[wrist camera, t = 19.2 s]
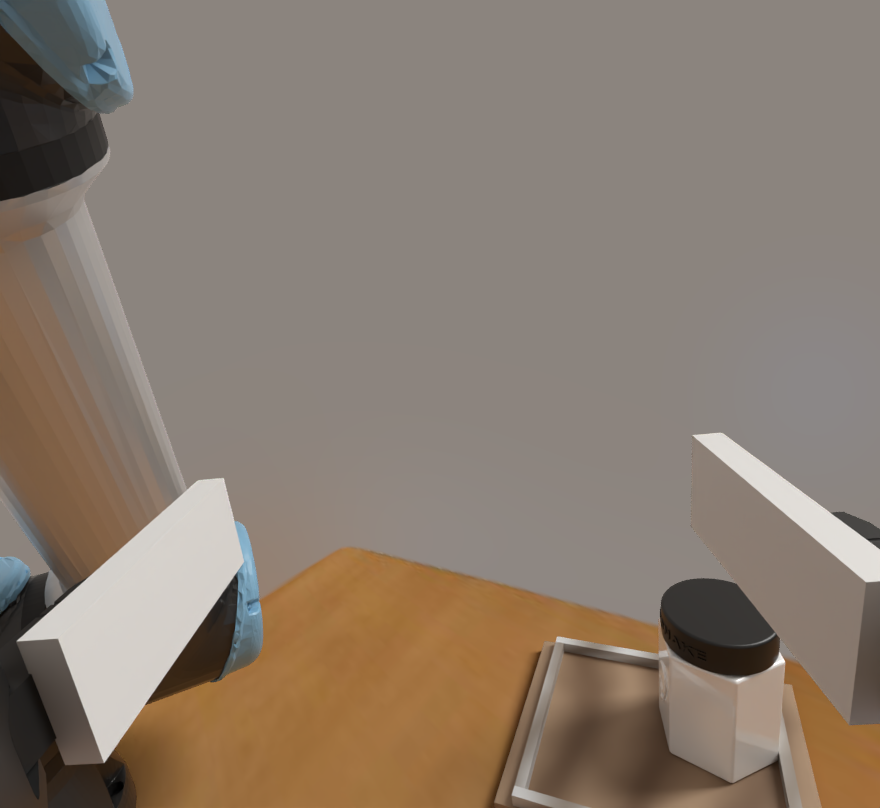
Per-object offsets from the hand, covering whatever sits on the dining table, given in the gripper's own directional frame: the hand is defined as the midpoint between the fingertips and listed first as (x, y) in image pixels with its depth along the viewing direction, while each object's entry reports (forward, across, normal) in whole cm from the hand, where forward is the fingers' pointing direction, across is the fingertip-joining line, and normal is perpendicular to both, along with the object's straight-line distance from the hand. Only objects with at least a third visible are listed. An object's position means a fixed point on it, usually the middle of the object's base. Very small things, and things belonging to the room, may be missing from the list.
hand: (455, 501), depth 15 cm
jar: (+22, +17, -34) cm, 44 cm away
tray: (+22, +12, -35) cm, 43 cm away
